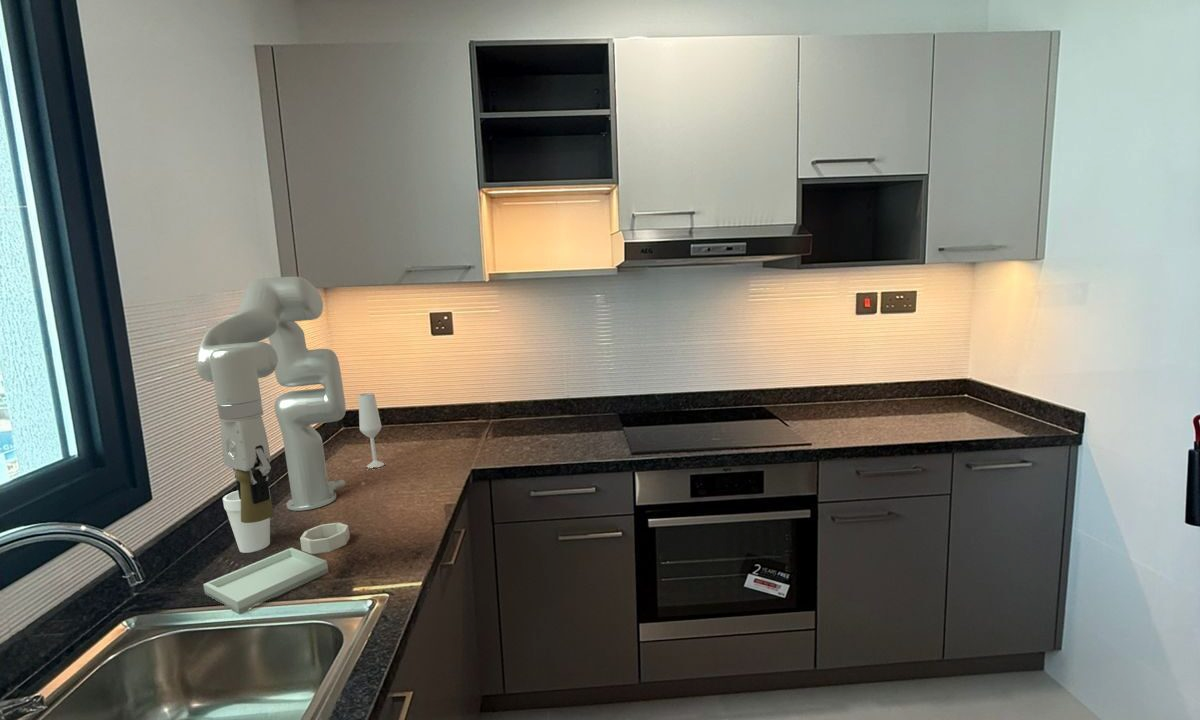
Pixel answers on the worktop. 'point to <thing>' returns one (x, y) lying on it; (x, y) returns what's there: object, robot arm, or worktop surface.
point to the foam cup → (246, 526)
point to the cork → (248, 508)
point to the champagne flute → (369, 422)
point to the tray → (265, 579)
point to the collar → (317, 542)
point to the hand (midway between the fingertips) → (254, 498)
